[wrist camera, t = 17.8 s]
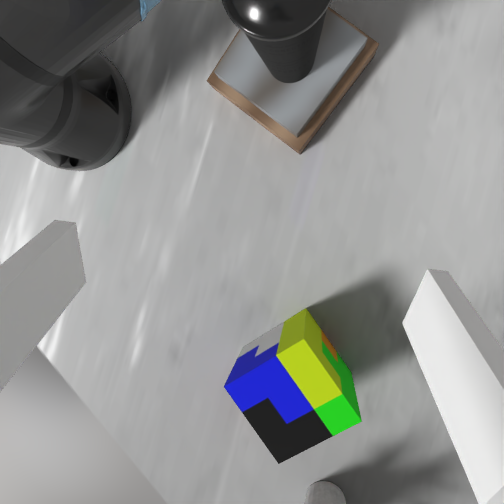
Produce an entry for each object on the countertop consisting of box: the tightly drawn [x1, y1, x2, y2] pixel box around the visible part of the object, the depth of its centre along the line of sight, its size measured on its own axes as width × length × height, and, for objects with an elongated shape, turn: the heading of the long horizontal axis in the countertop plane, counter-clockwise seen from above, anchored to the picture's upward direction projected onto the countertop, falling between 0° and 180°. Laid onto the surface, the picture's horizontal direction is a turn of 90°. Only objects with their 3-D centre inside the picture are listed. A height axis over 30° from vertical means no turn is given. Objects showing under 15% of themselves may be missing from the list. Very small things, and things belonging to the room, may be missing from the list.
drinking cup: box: [222, 0, 332, 83], centre depth 25 cm, size 8×8×20 cm
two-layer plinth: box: [207, 7, 379, 154], centre depth 38 cm, size 13×13×5 cm
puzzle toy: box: [224, 308, 362, 464], centre depth 40 cm, size 10×10×10 cm
